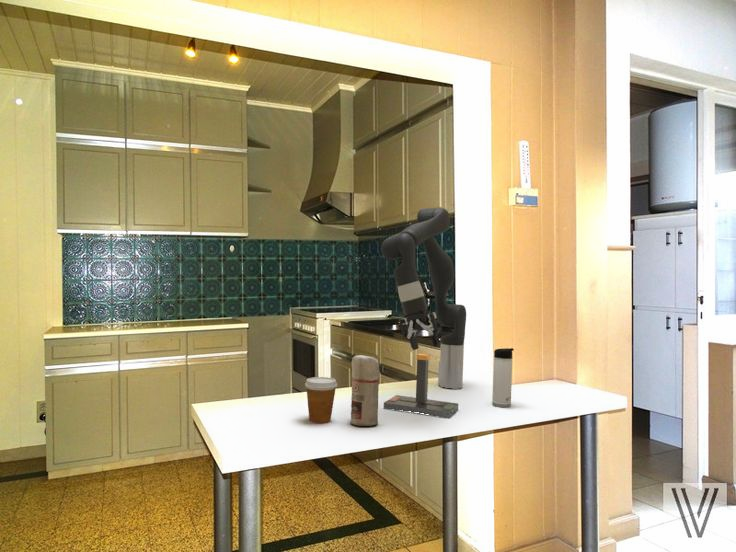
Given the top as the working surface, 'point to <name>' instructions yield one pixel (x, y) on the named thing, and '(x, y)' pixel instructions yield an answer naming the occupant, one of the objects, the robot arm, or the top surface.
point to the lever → (422, 377)
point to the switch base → (422, 406)
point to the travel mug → (502, 377)
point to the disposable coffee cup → (320, 398)
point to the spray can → (364, 391)
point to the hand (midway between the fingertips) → (426, 347)
